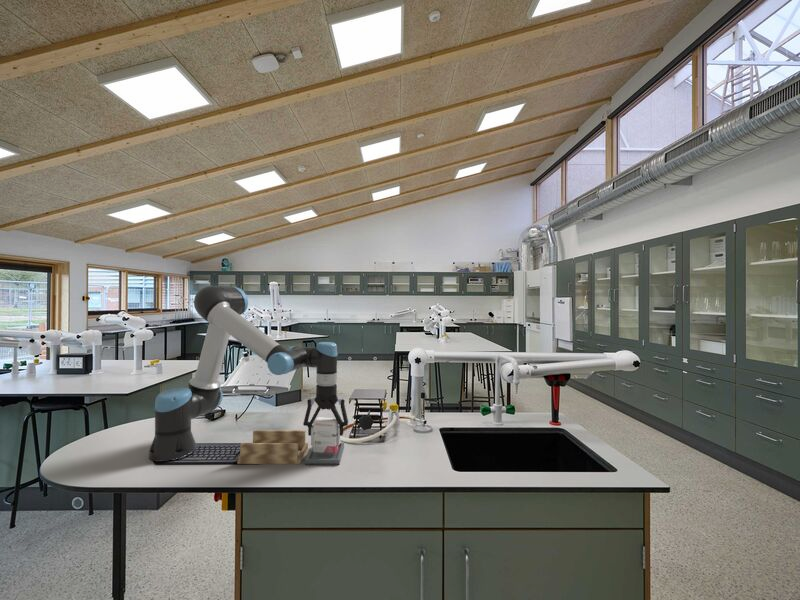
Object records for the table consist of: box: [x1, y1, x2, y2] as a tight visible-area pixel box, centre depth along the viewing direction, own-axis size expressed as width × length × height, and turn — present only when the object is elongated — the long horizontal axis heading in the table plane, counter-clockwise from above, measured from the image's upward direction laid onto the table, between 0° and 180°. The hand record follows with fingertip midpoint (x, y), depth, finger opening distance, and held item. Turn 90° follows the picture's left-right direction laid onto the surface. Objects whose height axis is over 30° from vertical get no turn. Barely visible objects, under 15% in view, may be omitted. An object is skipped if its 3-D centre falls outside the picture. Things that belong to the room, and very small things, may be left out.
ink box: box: [312, 416, 339, 453], centre depth 144 cm, size 9×5×12 cm, turn 82°
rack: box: [236, 429, 309, 465], centre depth 144 cm, size 22×14×7 cm, turn 92°
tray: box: [304, 442, 345, 466], centre depth 144 cm, size 12×16×2 cm
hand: (325, 443), depth 144 cm, fingers closed on ink box, 9 cm apart
